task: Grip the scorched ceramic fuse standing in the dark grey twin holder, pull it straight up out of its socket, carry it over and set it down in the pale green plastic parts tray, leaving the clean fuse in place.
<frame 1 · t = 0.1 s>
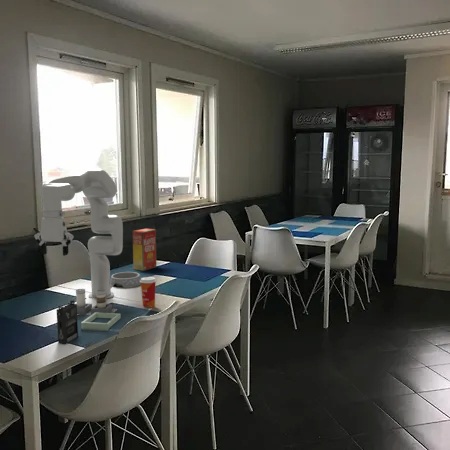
hand: (54, 254, 213), 31 cm above the table, fingers open, 9 cm apart
parts tray: (101, 324, 218), on the table
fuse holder: (91, 313, 234), on the table
paper cup: (148, 307, 244), on the table
blown fuse: (101, 311, 233), point 1 cm above the table, touching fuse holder
food packaging: (145, 268, 326), on the table
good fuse: (81, 310, 235), point 1 cm above the table, touching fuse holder
geiger counter: (67, 340, 201), on the table
dog bowl: (125, 284, 287), on the table
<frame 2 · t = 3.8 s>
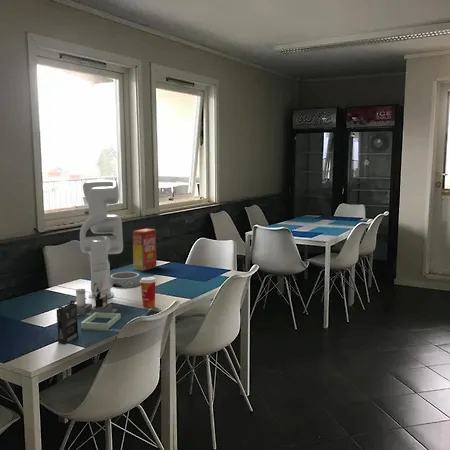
hand: (101, 304, 233), 4 cm above the table, fingers closed on blown fuse, 4 cm apart
blown fuse: (101, 311, 233), point 1 cm above the table, touching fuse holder, gripper
everything else where it was.
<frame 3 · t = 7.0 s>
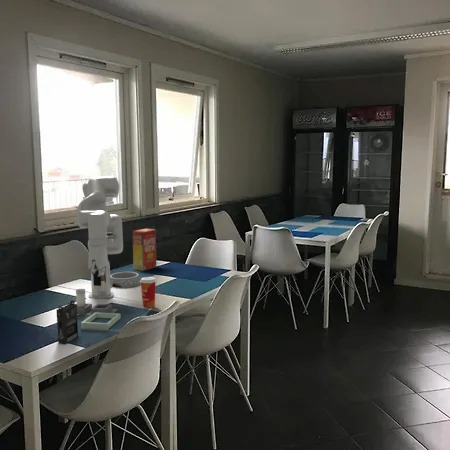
hand: (99, 283, 216), 18 cm above the table, fingers closed on blown fuse, 4 cm apart
blown fuse: (100, 291, 216), point 15 cm above the table, touching gripper
everything else where it was.
when the fingers open (5 cm above the table, at t = 10.0 s): blown fuse drops 1 cm, resting on parts tray.
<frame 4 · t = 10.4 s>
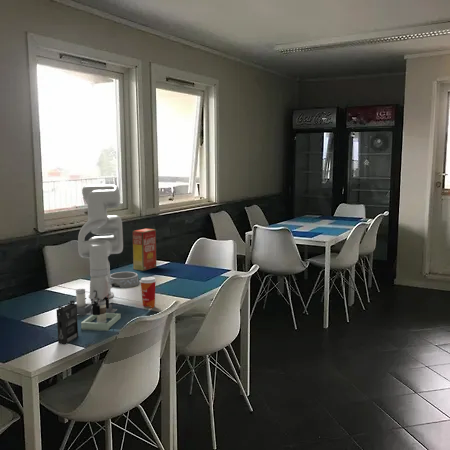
hand: (101, 311, 218), 6 cm above the table, fingers open, 8 cm apart
blown fuse: (101, 323, 219), point 1 cm above the table, touching parts tray
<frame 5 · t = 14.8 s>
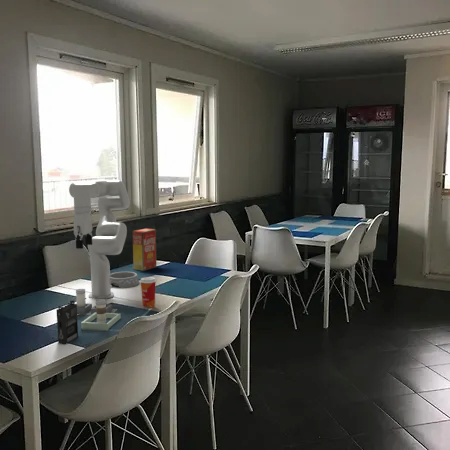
hand: (84, 246, 236), 30 cm above the table, fingers open, 9 cm apart
at the end: blown fuse inside the target area on the parts tray (0.3 cm from its centre), point 0.6 cm above the parts tray's base; the gripper is holding nothing; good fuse moved 0.1 cm from its start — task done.
